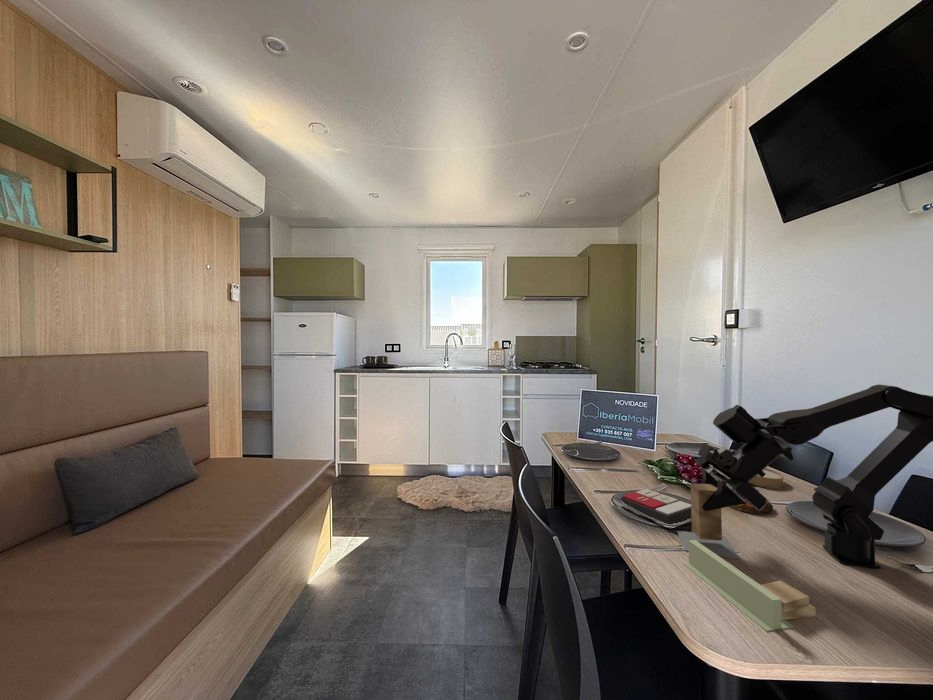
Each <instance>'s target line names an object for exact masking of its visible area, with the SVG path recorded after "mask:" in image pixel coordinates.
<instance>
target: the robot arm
mask: <svg viewBox="0 0 933 700" xmlns="http://www.w3.org/2000/svg"><path fill="white" fill-rule="evenodd" d="M888 408H891V409H894V410H898V414H897V424H896V427H894V429H893V430H892V431H891V432H890V433H889V434H888V435H887V436H886V437H885V438H884V439H883V440H882V441H881V442H880V443H879V444H878V445H877V446H876V447H875V448H874V449H873V450H872V451H871V452H870V453H869V454H868V455H867V456H866V457H865V458H864V459H863V460H862V461H861V462H860V463H859V464H858V465H856V467H855V468H854V469H853V470H852V471H850V472H849V473H848V474H847V476H845V477H843V478H840V479H837V480H835V479H834V478H831V477H829V476H827V477H825V478H824V479H823V481H821V484H820V485H818V486H816V487H815V488H813V491H815V492H814V493H813V495H812V497H811V499H812V502H813V503H812V504H813V506H814V507H815V509H816V510H818V511H819V512H820V513H821V515H822V518H823V519H825V520H826V521H828V522H827V523H826V524H827V525H826V526H827V527H826V530H824V544H823V545H822V548H823V549H824V550H826V552H828V553H829V554H830V555H831V556H832V557H833V558H834V559H835V560H837V561H838V563H841V564H844V565H852V566H859V567H867V568H873V569H880V570H881V569H882V566H881V564H880V563H878V562H877V561H876V541H881V539H882V538H883V535H884V533H885V530H884V529H883V528H882V527H880V526H879V525H878V524H877V523H876V522H874V521H873V520H872V519H871V518H870V516H871V515H872V514H873V512H874V510H875V508H874V507H875V500H876V495H877V494H879V492H880V491H881V490H882V489H883V488H884V487H885V486H887V485H888V483H890V481H892V480H893V479H894V478H895V477H896V476H897V475H898V474H899V473H900V472H901V471H902V470H904V468H905V467H906V466H907V465H909V464H910V463H911V461H913V460H914V459H916V457H917V456H918V455H919V454H920V453H921V452H922V451H923V450H924V449H925V448H926V447H927V446H928V445H929V444H930V443H933V395H928V394H921V393H917V392H914V391H910V390H906V389H903V388H901V387H898V386H896V385H895V386H894V385H888V384H879V383H878V384H874V385H872V386H869V387H868V388H866V389H863V390H860V391H857V392H854V393H851V394H849V395H845V396H843V397H840V398H837V399H834V400H831V401H829V402H828V401H827V402H826V403H823V404H820V405H817V406H814V407H811V408H805V409H792V410H786V411H780V412H776V413H773V414H771V415H769V416H768V417H763V418H754V417H753V416H752V415H751V414H750V413H749V412H748V411H747V410H746V408H744V407H743V406H742V405H739V404H735V405H734V406H733V407H730V408H726V409H725V410H724V411H720V413H718V414H717V415H716V416H715V417H714V419H713V420H712V424H713V426H715V427H716V428H717V429H718V430H720V431H721V433H723V434H724V435H725V436H727V438H729V439H730V441H731V442H733V443H734V444H740V443H741V444H743V445H742V446H741V447H740V448H738V449H737V450H736V449H733V448H732V449H727V448H725V447H720V448H717V447H715V446H714V445H713V446H712V445H710V444H709V443H706V442H703V443H702V444H701V446H700V449H699V450H698V453H697V456H699V457H698V458H697V459H696V460H695V462H696V464H698V465H699V466H700V471H701V473H702V479H701V481H700V484H712V485H714V486H715V487H716V488H717V490H716V491H715V492H714V493H713V495H712V496H711V497H710V498H709V499H708V500H707V501H706V502H705V504H704V505H703V506H702V508H703V509H704V510H705V511H710V510H715V509H719V508H721V509H723V508H728V507H730V506H735V505H741V504H743V505H746V503H745V502H744V501H745V500H746V499H747V500H748V501H749V502H750V504H751V505H752V506H753V507H755V508H756V509H757V510H759V511H760V510H761V509H762V508H763V507H765V506H766V499H767V497H765V495H763V494H762V493H761V492H760V491H759V490H757V488H756V487H754V486H753V484H751V483H749V482H750V481H751V480H752V479H754V478H755V477H756V476H757V475H759V476H761V477H763V476H765V475H766V474H765V473H764V472H763V470H764V469H765V468H766V469H767V468H768V467H769V465H771V464H772V463H773V462H774V461H775V460H776V459H778V458H779V457H781V458H783V459H786V460H788V461H794V457H793V453H792V450H793V449H792V447H791V446H787V445H785V444H784V445H782V443H781V442H779V441H778V440H777V439H779V440H781V441H783V442H785V443H788V444H790V445H797V446H799V445H804V444H806V443H808V442H810V441H812V440H814V439H815V438H817V437H819V436H821V434H822V433H823V432H824V431H825V430H827V429H829V428H830V427H833V426H836V425H839V424H843V423H846V422H849V421H852V420H855V419H857V418H860V417H864V416H867V415H870V414H872V413H875V412H879V411H882V410H885V409H888ZM761 431H762V432H763V433H766V434H768V435H770V436H766V435H765V434H763V433H762V432H761ZM776 438H777V439H776Z"/></svg>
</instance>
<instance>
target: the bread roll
mask: <svg viewBox="0 0 933 700" xmlns="http://www.w3.org/2000/svg"><path fill="white" fill-rule="evenodd" d="M744 502H745V503H746V505H743V504H741V505H735V506H729V507H730V508H732V509H735V510H738V511H740V512H743V513H750V514H757V515H767V514H770V513H773V512H774V505H773V504H772V503H771V502H770V501H769V500H768V499H767V498H766V506H765V507H763V508H762V509H761V510H760V511H759V510H757V509H756V508H755V507H753V506H752V505H751V504H750V502H749V501H748V500H747V499H746V500H745V501H744Z"/></svg>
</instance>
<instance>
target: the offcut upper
mask: <svg viewBox="0 0 933 700" xmlns="http://www.w3.org/2000/svg"><path fill="white" fill-rule="evenodd" d="M760 585H761V586H763V587H764V588H766V589H767V590H769V591H770V592H771V593H773V594H774V595H776V596H777V597H779V598H780V599H781V610H782V611H783V612H787V611H790V610H794V609H798V608H801V607H805V606H809V604H810V596H809V595H808V594H805V593H803V592H802V591H800V590H798V589H796V588H794V587H793V586H791V585H789V584H788V583H785V582H783V581H782V580H776V581H772V582H768V583H762V584H760Z"/></svg>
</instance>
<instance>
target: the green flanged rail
mask: <svg viewBox="0 0 933 700" xmlns="http://www.w3.org/2000/svg"><path fill="white" fill-rule="evenodd" d="M683 565H684V566H685V567H686V568H687V569H689V570H690V571H691V572H692V573H694V575H696V576H697V577H698V578H699V579H701V580H702V581H703V582H705V583H706V584H707V585H708V586H709V587H711V588H712V589H713V590H715V591H716V592H717V593H719V595H721V596H722V597H724V599H725V600H727V601H728V602H729V603H731V604H732V606H734V607H736V608H737V610H740V611H741V612H742V613H743V614H744V615H746V617H748V618H749V619H750V620H752V621H753V622H754V623H755V624H757V625H758V627H760V628H761V629H763V630H764V631H765V632H773V631H780V630H781V631H782V630H786V629H792V628H794V625H793V624H791V623H789V622H788V620H787V619H786V620H781V599H780V598H779V597H777V596H776V595H774V594H773V593H771V592H770V591H769V590H767V589H766V588H764V587H763V586H761V585H762V584H760V583H758V582H757V581H756V580H754V579H753V578H751V577H750V576H748V575H747V574H745V573H744V572H742V571H741V570H739V569H738V568H736V566H734V565H732V564H731V563H730V562H728V561H726V560H725V559H724V558H723V557H720V556H718V555H716V554H715V553H713V552H712V551H711V550H709V549H708V548H706V547H705V546H703V545H702V544H700V543H699V542H697V541H696V540H689V552H688V562H686V563H685V562H684V563H683Z"/></svg>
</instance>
